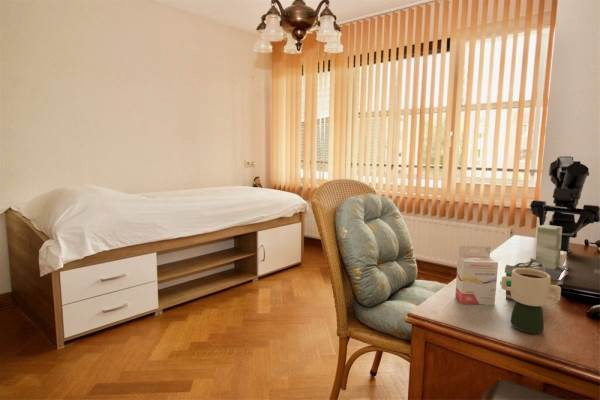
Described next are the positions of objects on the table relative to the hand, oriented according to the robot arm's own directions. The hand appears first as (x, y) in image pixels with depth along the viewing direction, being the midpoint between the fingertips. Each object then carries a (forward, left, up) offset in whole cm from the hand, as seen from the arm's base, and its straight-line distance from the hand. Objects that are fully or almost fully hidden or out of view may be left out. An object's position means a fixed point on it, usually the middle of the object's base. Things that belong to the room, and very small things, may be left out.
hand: (557, 230), depth 113 cm
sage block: (+7, 0, -11) cm, 13 cm away
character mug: (+51, +8, -14) cm, 53 cm away
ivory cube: (-5, -1, -13) cm, 14 cm away
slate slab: (+7, 0, -14) cm, 16 cm away
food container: (+34, +3, -14) cm, 37 cm away
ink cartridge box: (+45, -6, -14) cm, 47 cm away
